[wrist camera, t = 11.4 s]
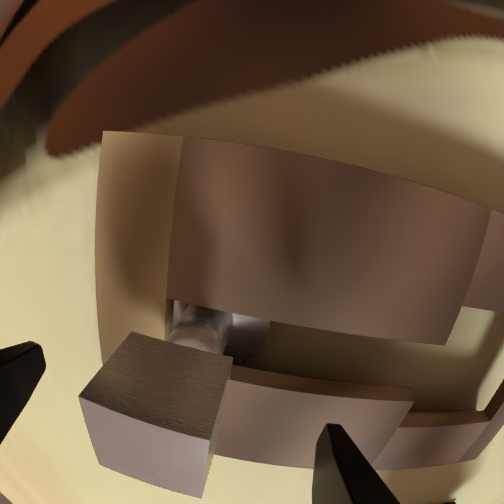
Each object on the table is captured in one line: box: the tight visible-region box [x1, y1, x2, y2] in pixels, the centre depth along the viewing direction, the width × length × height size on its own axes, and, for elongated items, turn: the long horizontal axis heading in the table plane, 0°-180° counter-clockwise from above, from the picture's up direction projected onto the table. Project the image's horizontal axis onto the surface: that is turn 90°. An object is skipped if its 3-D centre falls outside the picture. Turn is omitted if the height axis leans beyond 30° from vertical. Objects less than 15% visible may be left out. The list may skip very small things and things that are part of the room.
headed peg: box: [78, 300, 270, 498], centre depth 10 cm, size 5×5×8 cm
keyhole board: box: [95, 131, 504, 470], centre depth 12 cm, size 22×14×3 cm, turn 81°
